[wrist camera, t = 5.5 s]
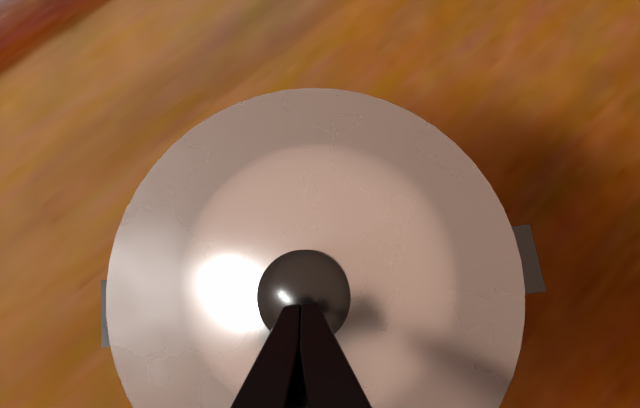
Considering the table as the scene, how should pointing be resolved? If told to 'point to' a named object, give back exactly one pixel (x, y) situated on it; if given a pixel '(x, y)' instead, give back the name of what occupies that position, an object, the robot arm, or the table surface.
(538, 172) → the table surface
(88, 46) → the table surface
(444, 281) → the cooker lid
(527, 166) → the table surface
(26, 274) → the table surface
